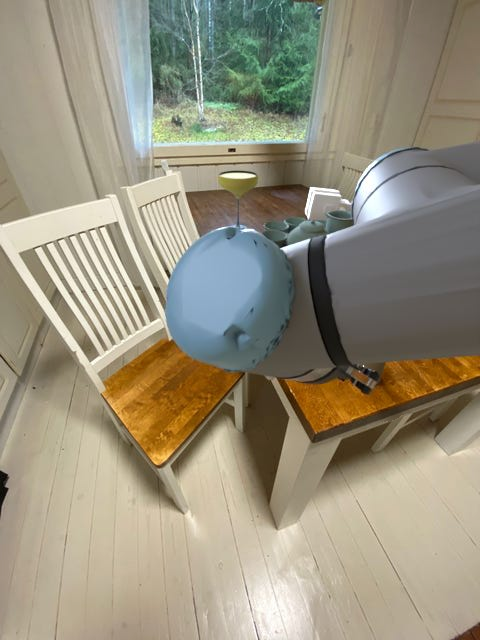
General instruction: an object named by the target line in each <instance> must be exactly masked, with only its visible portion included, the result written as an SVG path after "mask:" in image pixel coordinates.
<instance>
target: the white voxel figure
mask: <svg viewBox="0 0 480 640" xmlns="http://www.w3.org/2000/svg"><path fill="white" fill-rule="evenodd" d="M340 192H341V191H340V190H336V189H335V188H334V189H333V188H324V187H315V186H310V187H309V191H308V196H307V201H306V205H305V208H304V214H305V216H306V219H307V220H308V221H311V220H325V221H327V216H326V215H325V213H326V212H329V211H332V210H345V211H350V212H351V203H352V202H350V201H349V200H348V199H346V198H345V199H344V198H342V194H340Z"/></svg>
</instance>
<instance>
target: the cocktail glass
mask: <svg viewBox="0 0 480 640" xmlns="http://www.w3.org/2000/svg"><path fill="white" fill-rule="evenodd" d="M217 179H218V184H219V186H220V187H221V188H223V189H224V190H226V191H227V192H230V193H231V194H233V196H234V197H235V198H236V199H237V207H236V208H237V209H236V211H237V212H236V213H237V216H236V217H237V218H236V224H234V225H229V226H228V227H241V228H247V229H250V228H249V227H248V226H246V225H242V224H240V198H242V196H243V195H244V194H245V193H247V192H249V191H251V190H253V189H254V188H256V186H258V183H259V175H258V173H257V172H254V171H251V170H250V171H249V170H248V171H247V170H226V171H222V172H219V174H218V177H217Z"/></svg>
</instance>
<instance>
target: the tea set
mask: <svg viewBox="0 0 480 640" xmlns="http://www.w3.org/2000/svg"><path fill="white" fill-rule="evenodd" d="M325 215H326V216H327V221H325V220H308V218H304V217H299V216H298V217H297V216H292V217H286V218H284V219H283V221H281V220H279V221H278V220H272V221H266V222H264V224H263V225H262V226H263V230H264V231H262V232H260V233H261V234H263V235H264V236H265V237H266V238H267V239H270V240H273V241H274V243H275V244H276V245H278V246H279V247H280V248H283V247H286V246H289V245H292V244H295V243H298V242H301V241H304V240H307V239H310V238H315V237H318V236H321V235H325V234H328V235H329V234H331V233H334V232H337V231H340V230H343V229H346V228H349V227H351V226H354V222H353V218H352V217H351V212H350V211H345V210H332V211H329V212H326V213H325Z"/></svg>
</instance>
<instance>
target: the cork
mask: <svg viewBox="0 0 480 640" xmlns="http://www.w3.org/2000/svg"><path fill="white" fill-rule="evenodd" d="M386 363H387V362H381V363H368V364H357V368H358V366H359V365H361V366H365V367H366V368H368V369H370V370H372V371H374V370H375V371H376V372H378V374H379V375H380V376H381V377H380V379H379V380H378V382H377V381H376V382H377V383H376V385H375V386H378V385H379V384H380V383H381V380H382V377H383V373H384V371H385V367H386Z"/></svg>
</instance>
